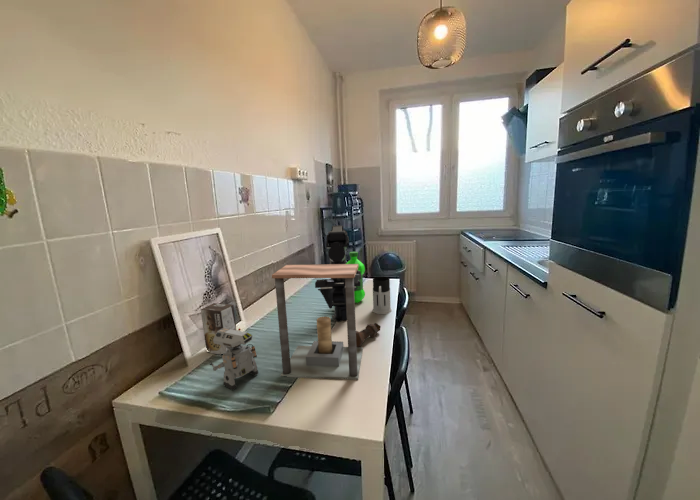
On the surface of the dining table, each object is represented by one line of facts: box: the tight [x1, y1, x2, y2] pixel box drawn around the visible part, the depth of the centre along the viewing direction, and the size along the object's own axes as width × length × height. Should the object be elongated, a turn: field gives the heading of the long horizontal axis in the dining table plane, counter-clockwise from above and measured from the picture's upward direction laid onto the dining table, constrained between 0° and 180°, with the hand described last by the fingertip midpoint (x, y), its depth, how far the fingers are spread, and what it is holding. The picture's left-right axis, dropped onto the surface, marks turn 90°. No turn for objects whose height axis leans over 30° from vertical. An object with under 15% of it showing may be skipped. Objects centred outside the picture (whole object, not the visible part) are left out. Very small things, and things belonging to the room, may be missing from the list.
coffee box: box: [200, 302, 237, 355], centre depth 103 cm, size 9×6×16 cm
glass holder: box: [372, 276, 393, 315], centre depth 131 cm, size 9×14×15 cm, turn 170°
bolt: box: [356, 322, 381, 347], centre depth 107 cm, size 6×5×15 cm
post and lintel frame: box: [271, 263, 364, 380], centre depth 91 cm, size 18×23×31 cm
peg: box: [316, 316, 332, 354], centre depth 94 cm, size 4×4×13 cm
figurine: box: [209, 328, 259, 391], centre depth 85 cm, size 9×12×15 cm
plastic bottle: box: [346, 251, 366, 304], centre depth 146 cm, size 10×10×25 cm
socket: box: [306, 340, 345, 366], centre depth 95 cm, size 10×10×4 cm
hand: (339, 307), depth 106 cm, fingers open, 9 cm apart
